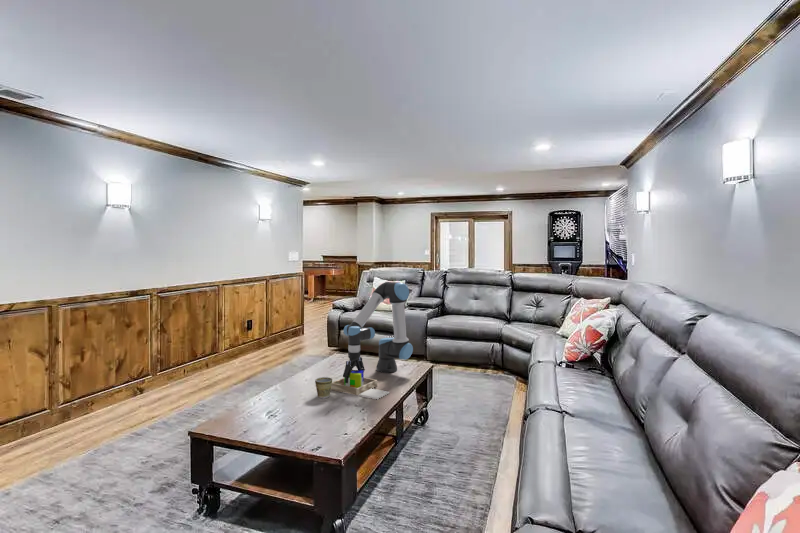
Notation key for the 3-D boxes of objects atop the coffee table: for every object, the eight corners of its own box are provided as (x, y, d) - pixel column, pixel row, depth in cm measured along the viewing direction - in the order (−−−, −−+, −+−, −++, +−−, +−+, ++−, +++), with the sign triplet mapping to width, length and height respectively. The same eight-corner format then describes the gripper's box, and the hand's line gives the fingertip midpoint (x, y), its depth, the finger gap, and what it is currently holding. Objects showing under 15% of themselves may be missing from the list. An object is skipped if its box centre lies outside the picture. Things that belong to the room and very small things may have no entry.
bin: (350, 381, 285) (350, 375, 285) (377, 386, 275) (377, 380, 275) (330, 389, 267) (330, 383, 267) (357, 395, 257) (357, 388, 256)
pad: (371, 389, 267) (371, 388, 267) (389, 393, 261) (389, 391, 261) (359, 395, 256) (359, 394, 256) (377, 399, 249) (377, 398, 249)
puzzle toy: (363, 385, 275) (363, 370, 275) (360, 390, 265) (360, 374, 265) (348, 385, 276) (348, 369, 276) (344, 390, 266) (344, 374, 266)
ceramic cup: (328, 399, 249) (328, 382, 248) (312, 398, 251) (312, 381, 250) (336, 392, 261) (336, 376, 261) (320, 391, 263) (320, 375, 263)
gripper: (360, 347, 283) (360, 379, 283) (337, 354, 262) (336, 389, 262) (370, 348, 279) (370, 381, 279) (346, 356, 258) (346, 391, 258)
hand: (354, 385), depth 271 cm, fingers closed on puzzle toy, 12 cm apart
